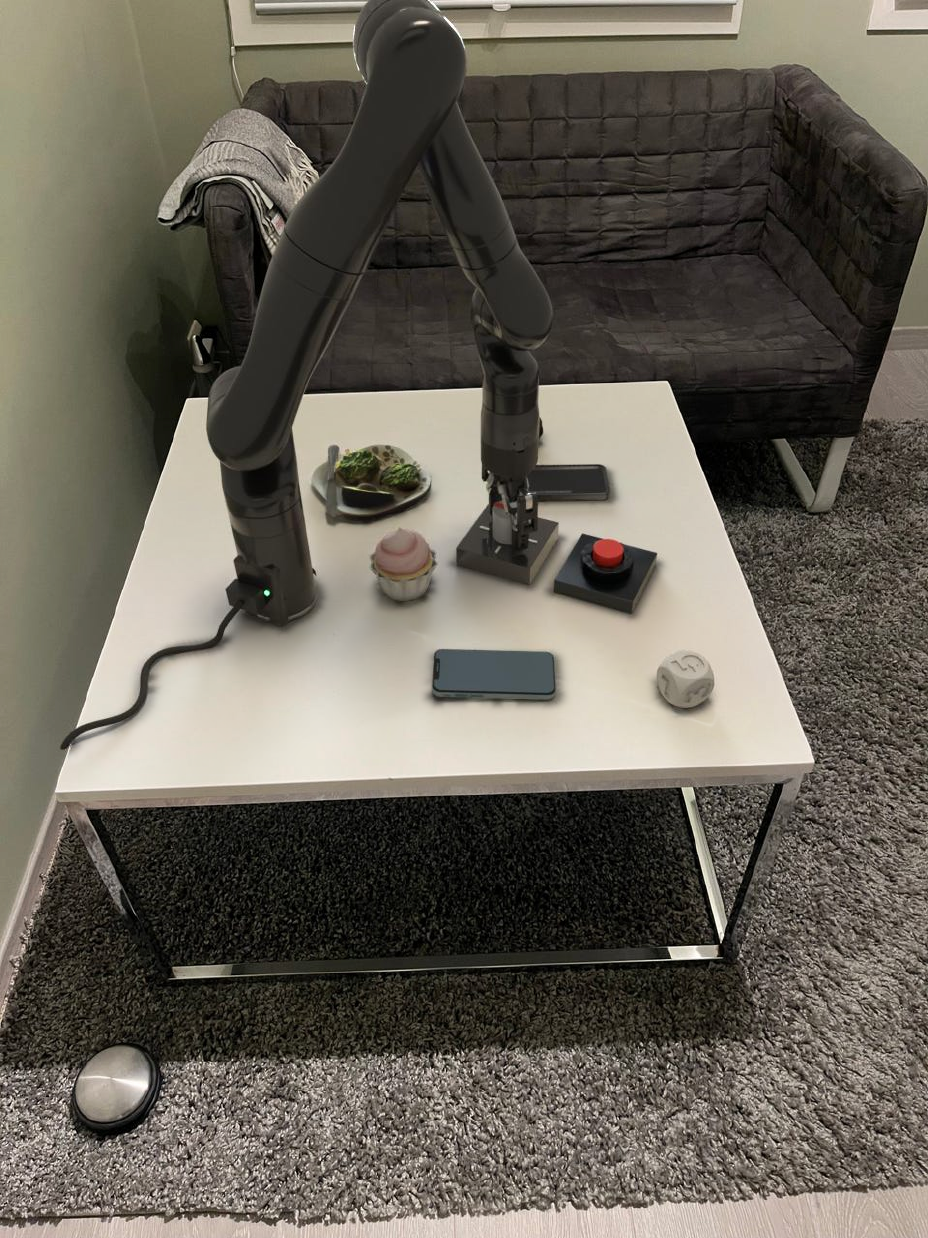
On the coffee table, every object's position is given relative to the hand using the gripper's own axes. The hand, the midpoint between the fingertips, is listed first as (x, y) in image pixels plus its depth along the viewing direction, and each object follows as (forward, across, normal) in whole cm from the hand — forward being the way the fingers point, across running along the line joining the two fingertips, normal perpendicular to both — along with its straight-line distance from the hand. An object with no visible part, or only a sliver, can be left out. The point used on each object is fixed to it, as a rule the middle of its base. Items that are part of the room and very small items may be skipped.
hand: (508, 530), depth 141 cm
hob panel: (+4, 0, 0) cm, 4 cm away
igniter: (+4, +10, +10) cm, 15 cm away
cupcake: (+4, +2, -16) cm, 16 cm away
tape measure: (+4, -25, +12) cm, 28 cm away
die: (+4, +33, +10) cm, 34 cm away
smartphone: (+4, +22, -11) cm, 25 cm away
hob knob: (+1, 0, 0) cm, 1 cm away
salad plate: (+4, -22, -14) cm, 26 cm away
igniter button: (0, +10, +10) cm, 15 cm away
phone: (+4, -12, +13) cm, 18 cm away
